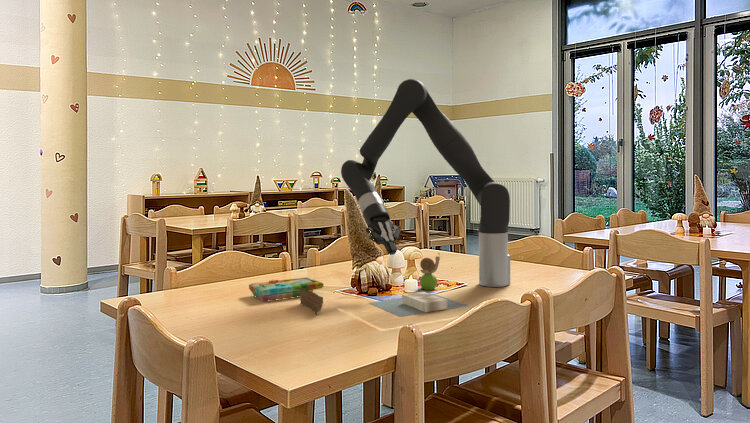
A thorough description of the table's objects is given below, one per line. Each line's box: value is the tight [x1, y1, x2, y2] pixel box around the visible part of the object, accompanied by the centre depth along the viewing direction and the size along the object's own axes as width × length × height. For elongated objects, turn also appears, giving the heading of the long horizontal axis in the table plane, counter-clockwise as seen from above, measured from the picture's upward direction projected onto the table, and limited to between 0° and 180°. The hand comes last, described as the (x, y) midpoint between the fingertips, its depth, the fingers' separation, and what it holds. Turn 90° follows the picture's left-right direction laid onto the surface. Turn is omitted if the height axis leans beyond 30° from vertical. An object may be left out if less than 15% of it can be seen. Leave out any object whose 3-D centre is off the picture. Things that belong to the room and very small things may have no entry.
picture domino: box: [401, 291, 448, 313], centre depth 159 cm, size 7×3×12 cm
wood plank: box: [299, 288, 324, 316], centre depth 160 cm, size 15×2×5 cm, turn 29°
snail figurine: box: [419, 252, 441, 291], centre depth 181 cm, size 5×6×12 cm
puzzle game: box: [248, 277, 325, 302], centre depth 179 cm, size 12×5×20 cm
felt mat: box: [368, 293, 470, 318], centre depth 162 cm, size 22×18×1 cm
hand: (393, 253), depth 172 cm, fingers closed
